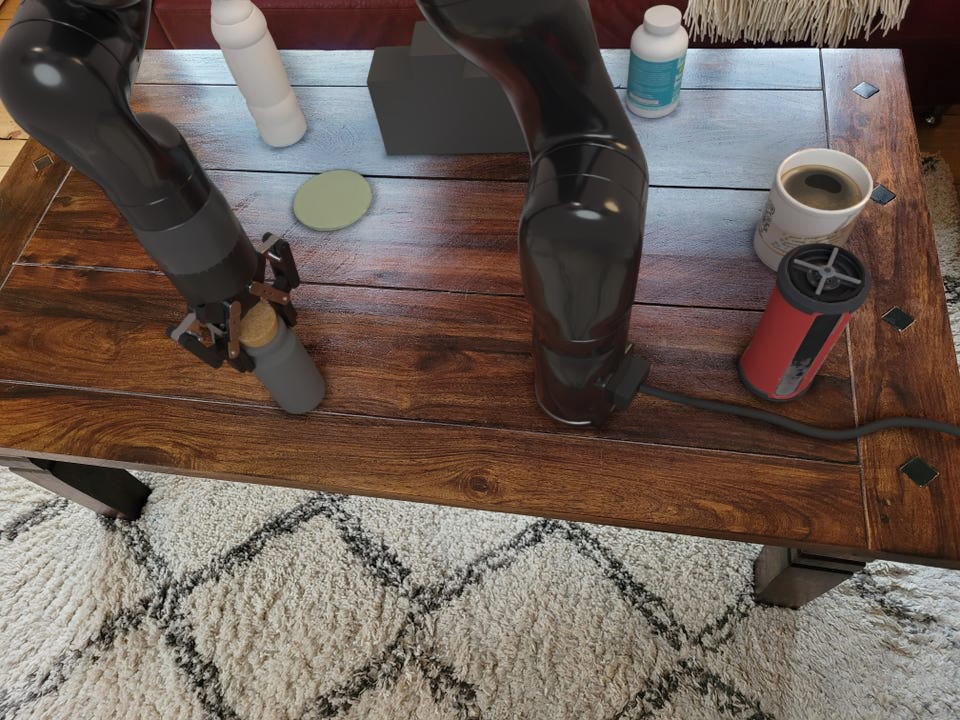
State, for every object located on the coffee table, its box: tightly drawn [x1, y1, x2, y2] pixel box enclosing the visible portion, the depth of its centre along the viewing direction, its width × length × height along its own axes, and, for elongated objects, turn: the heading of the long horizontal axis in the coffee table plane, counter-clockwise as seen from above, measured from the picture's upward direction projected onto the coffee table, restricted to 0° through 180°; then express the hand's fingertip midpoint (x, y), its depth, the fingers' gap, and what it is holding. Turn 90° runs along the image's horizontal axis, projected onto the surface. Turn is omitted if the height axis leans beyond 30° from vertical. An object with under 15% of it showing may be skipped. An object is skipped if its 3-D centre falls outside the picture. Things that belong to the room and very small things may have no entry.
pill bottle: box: [625, 4, 689, 119], centre depth 93 cm, size 8×7×14 cm
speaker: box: [737, 243, 872, 403], centre depth 67 cm, size 8×8×18 cm
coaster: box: [292, 169, 373, 232], centre depth 95 cm, size 11×11×1 cm
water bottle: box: [210, 0, 308, 148], centre depth 93 cm, size 7×7×25 cm
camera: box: [365, 20, 529, 157], centre depth 95 cm, size 25×16×16 cm, turn 86°
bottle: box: [238, 301, 327, 415], centre depth 74 cm, size 6×6×15 cm
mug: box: [752, 147, 874, 273], centre depth 79 cm, size 10×12×11 cm
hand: (268, 343), depth 71 cm, fingers closed on bottle, 5 cm apart
